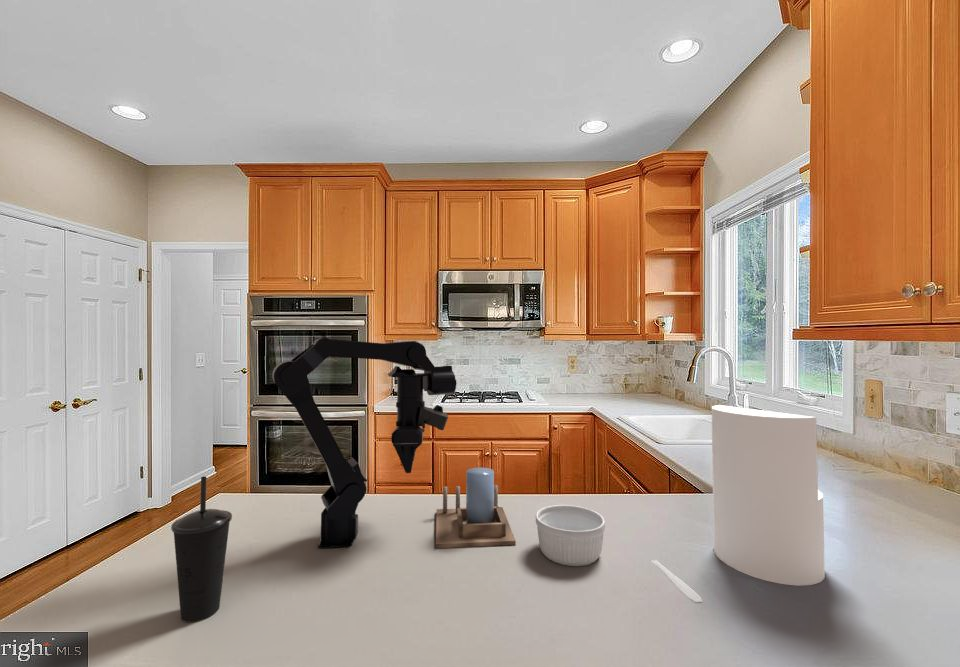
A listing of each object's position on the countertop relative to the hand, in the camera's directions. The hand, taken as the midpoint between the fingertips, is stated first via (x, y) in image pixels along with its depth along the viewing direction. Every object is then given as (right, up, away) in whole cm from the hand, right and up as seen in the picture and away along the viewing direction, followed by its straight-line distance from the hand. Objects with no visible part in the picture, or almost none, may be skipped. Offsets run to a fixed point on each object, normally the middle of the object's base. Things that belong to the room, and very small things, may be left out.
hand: (409, 466), depth 94 cm
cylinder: (+70, -13, -15) cm, 72 cm away
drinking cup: (-26, -12, -31) cm, 42 cm away
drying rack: (+14, -13, -1) cm, 19 cm away
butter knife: (+48, -13, -15) cm, 52 cm away
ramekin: (+33, -13, -12) cm, 38 cm away
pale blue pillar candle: (+16, -12, -3) cm, 20 cm away
